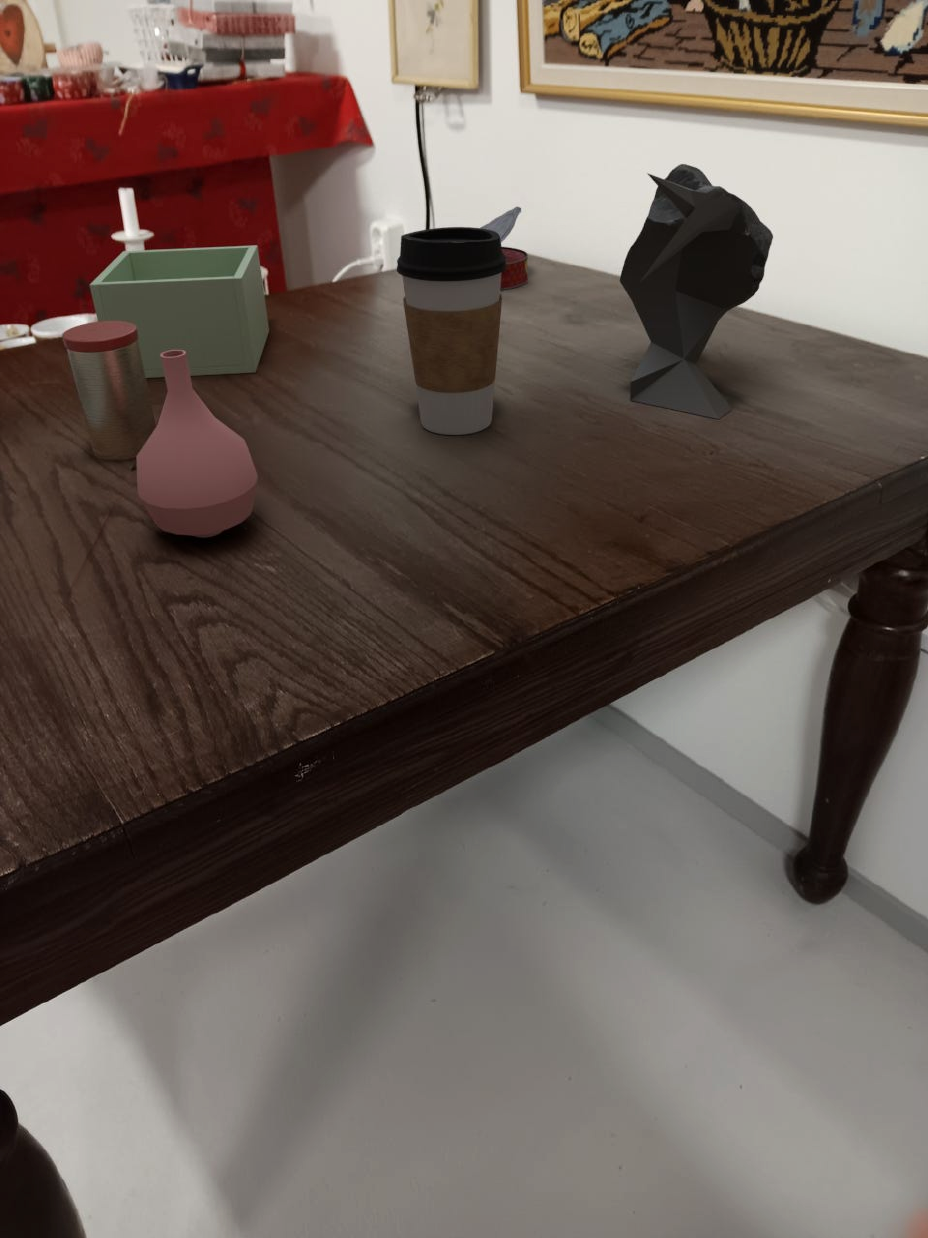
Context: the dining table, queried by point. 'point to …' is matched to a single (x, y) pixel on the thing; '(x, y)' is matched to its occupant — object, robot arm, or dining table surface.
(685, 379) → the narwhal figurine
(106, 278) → the tote
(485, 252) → the coffee cup
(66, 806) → the dining table surface
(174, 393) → the pink vase
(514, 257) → the canned food
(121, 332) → the spice tin
